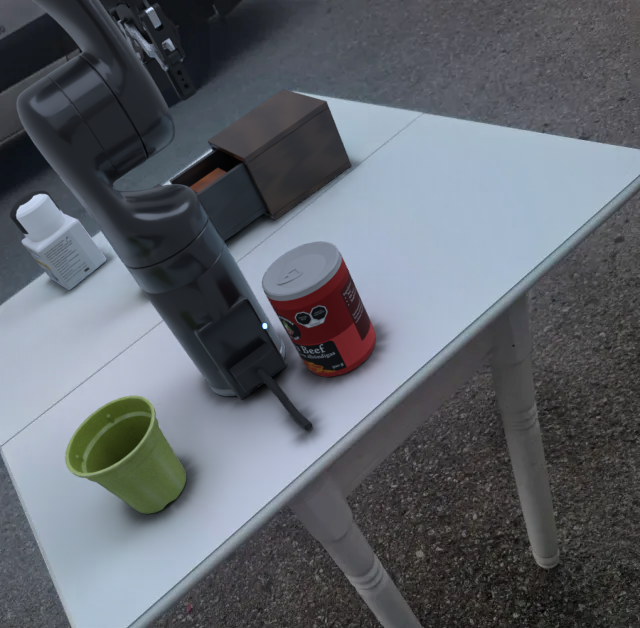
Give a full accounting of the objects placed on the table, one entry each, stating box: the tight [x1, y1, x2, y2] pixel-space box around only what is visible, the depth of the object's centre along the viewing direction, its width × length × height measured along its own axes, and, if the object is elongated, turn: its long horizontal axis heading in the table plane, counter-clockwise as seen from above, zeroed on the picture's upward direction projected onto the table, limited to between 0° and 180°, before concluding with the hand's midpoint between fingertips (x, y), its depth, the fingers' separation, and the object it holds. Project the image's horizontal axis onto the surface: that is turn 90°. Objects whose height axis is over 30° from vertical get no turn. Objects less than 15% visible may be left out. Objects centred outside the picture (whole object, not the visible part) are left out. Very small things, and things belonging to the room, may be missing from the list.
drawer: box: [152, 149, 268, 242], centre depth 98 cm, size 17×11×8 cm
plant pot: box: [64, 394, 187, 515], centre depth 67 cm, size 9×9×9 cm
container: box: [9, 189, 107, 291], centre depth 107 cm, size 8×8×13 cm
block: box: [190, 168, 227, 194], centre depth 99 cm, size 5×5×5 cm
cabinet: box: [207, 88, 353, 221], centre depth 100 cm, size 14×13×10 cm
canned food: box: [261, 240, 376, 378], centre depth 69 cm, size 8×8×11 cm
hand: (177, 92), depth 89 cm, fingers open, 8 cm apart
